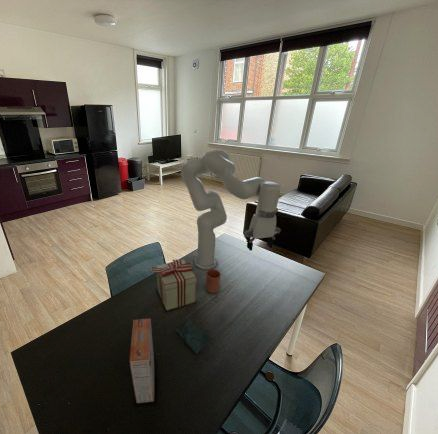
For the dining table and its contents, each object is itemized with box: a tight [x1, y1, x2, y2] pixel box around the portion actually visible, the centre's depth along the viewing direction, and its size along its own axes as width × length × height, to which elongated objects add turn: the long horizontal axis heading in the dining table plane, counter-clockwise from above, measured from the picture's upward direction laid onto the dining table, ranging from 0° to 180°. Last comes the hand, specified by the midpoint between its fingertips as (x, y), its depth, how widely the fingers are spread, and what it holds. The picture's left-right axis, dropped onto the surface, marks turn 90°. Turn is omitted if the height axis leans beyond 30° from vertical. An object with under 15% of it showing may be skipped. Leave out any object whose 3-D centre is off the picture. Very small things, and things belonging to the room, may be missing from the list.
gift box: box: [151, 258, 198, 311], centre depth 112 cm, size 17×18×17 cm
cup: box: [205, 268, 221, 294], centre depth 117 cm, size 7×7×9 cm
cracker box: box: [129, 317, 155, 404], centre depth 75 cm, size 14×6×21 cm, turn 5°
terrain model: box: [174, 319, 212, 354], centre depth 94 cm, size 13×8×2 cm, turn 40°
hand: (259, 247), depth 105 cm, fingers open, 9 cm apart
